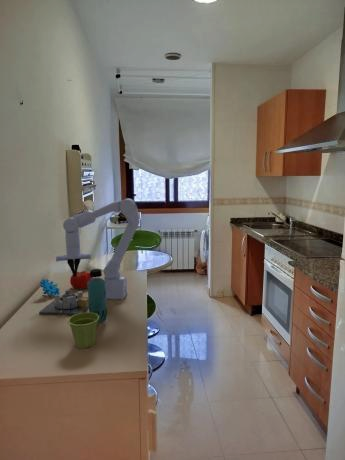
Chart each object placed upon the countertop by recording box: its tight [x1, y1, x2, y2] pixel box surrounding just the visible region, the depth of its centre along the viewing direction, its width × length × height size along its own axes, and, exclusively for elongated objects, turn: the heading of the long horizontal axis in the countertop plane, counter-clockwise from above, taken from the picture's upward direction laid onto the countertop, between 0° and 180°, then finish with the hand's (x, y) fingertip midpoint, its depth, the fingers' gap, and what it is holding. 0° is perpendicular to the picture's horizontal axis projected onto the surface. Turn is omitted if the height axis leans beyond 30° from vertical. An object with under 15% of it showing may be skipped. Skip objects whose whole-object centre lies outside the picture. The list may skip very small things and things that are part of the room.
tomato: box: [69, 270, 94, 290], centre depth 160 cm, size 11×11×8 cm
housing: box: [61, 292, 76, 301], centre depth 136 cm, size 6×6×5 cm
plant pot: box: [67, 311, 99, 349], centre depth 104 cm, size 9×9×9 cm
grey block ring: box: [53, 289, 89, 309], centre depth 135 cm, size 11×14×4 cm
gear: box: [39, 278, 61, 297], centre depth 150 cm, size 11×6×10 cm
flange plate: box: [38, 296, 89, 317], centre depth 136 cm, size 17×17×1 cm
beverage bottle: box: [87, 268, 108, 324], centre depth 118 cm, size 6×7×20 cm
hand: (74, 275), depth 145 cm, fingers closed
